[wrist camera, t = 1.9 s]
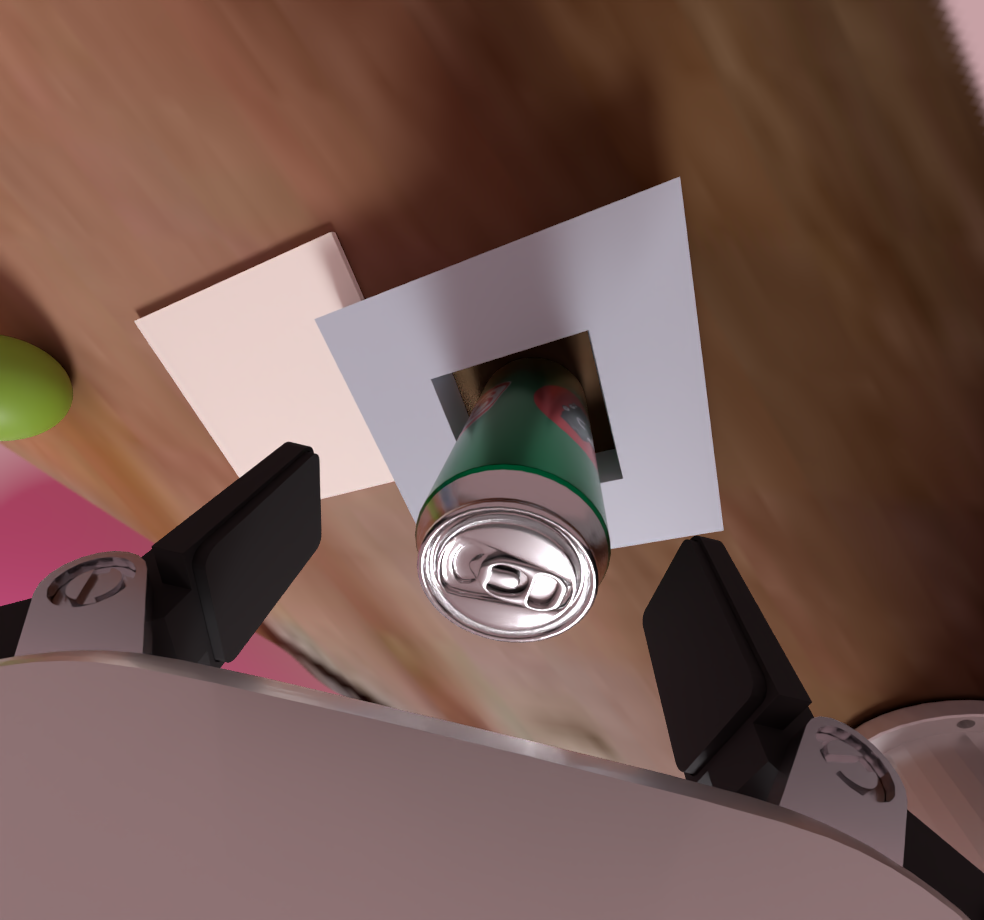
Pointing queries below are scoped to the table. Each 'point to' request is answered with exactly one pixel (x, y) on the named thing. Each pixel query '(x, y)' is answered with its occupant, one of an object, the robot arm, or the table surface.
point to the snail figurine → (30, 390)
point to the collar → (542, 319)
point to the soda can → (517, 511)
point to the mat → (272, 364)
